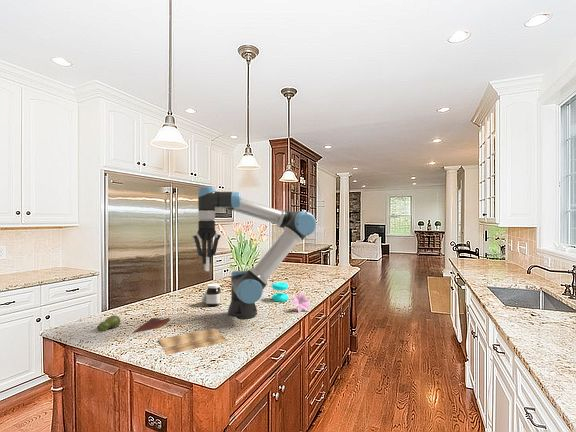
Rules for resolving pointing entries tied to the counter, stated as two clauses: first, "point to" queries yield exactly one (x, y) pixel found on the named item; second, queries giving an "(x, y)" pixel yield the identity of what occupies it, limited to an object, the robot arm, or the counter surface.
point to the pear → (109, 323)
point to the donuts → (280, 296)
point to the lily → (301, 302)
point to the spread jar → (212, 295)
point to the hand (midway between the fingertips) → (206, 270)
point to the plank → (188, 337)
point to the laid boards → (194, 344)
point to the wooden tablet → (152, 324)
